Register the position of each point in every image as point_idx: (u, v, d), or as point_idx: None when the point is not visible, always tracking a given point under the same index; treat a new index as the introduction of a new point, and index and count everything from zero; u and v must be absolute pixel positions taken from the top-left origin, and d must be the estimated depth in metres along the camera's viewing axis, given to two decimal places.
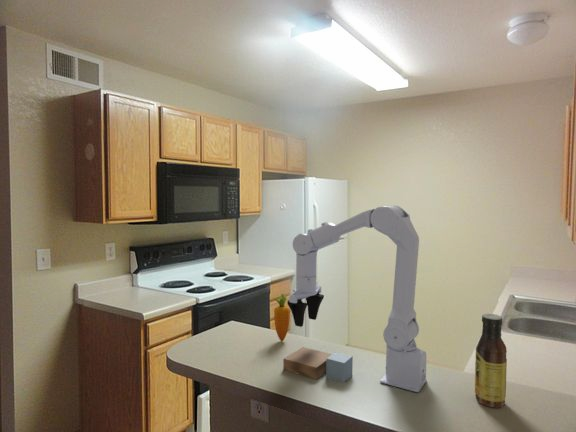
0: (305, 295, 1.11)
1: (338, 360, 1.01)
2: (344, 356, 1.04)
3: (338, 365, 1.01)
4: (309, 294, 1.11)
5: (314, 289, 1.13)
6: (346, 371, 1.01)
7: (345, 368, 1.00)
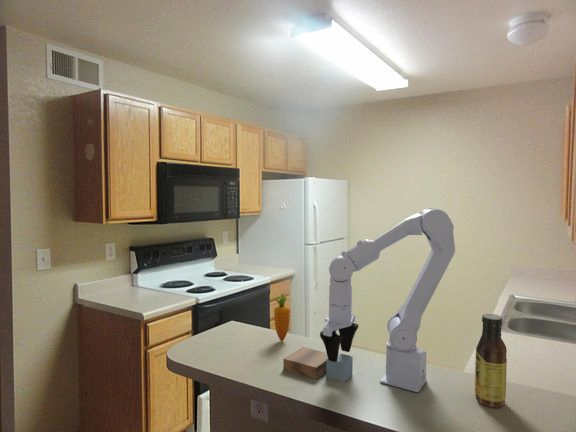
0: (340, 327, 0.99)
1: (338, 360, 1.01)
2: (344, 356, 1.04)
3: (338, 365, 1.01)
4: (344, 325, 0.99)
5: (349, 319, 1.01)
6: (346, 371, 1.01)
7: (345, 368, 1.00)
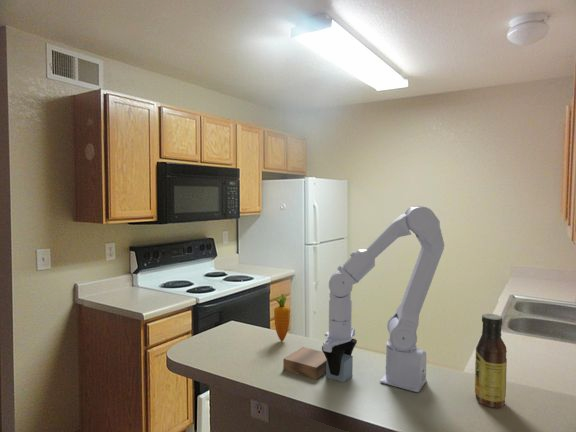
0: (340, 342, 0.99)
1: None
2: (344, 356, 1.04)
3: None
4: (344, 341, 1.00)
5: (349, 334, 1.01)
6: (346, 371, 1.01)
7: (345, 367, 1.00)
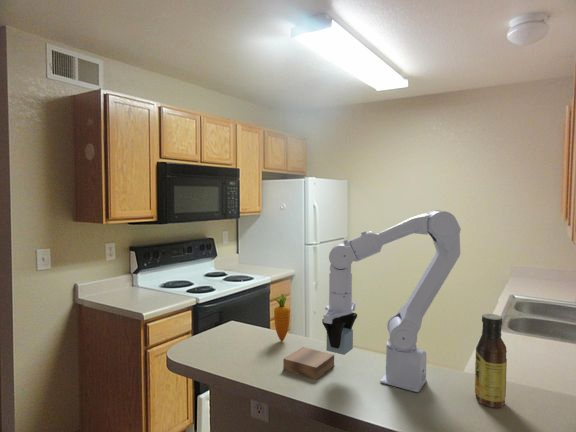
0: (340, 314, 0.98)
1: None
2: (344, 329, 1.03)
3: None
4: (345, 313, 0.99)
5: (350, 307, 1.01)
6: (346, 344, 1.00)
7: (345, 340, 1.00)
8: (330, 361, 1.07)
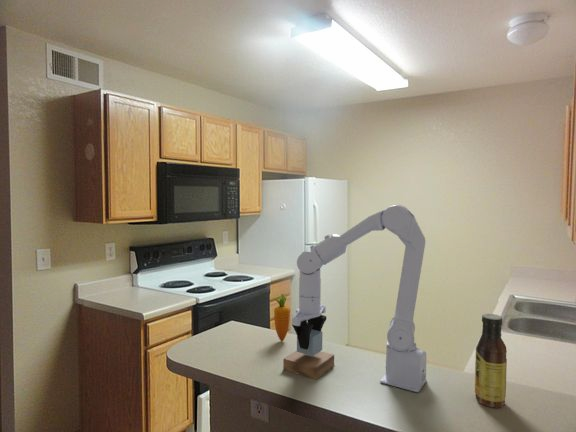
0: (309, 317, 1.03)
1: None
2: (314, 331, 1.08)
3: None
4: (313, 316, 1.04)
5: (318, 310, 1.06)
6: (315, 345, 1.05)
7: (314, 342, 1.05)
8: (330, 361, 1.07)
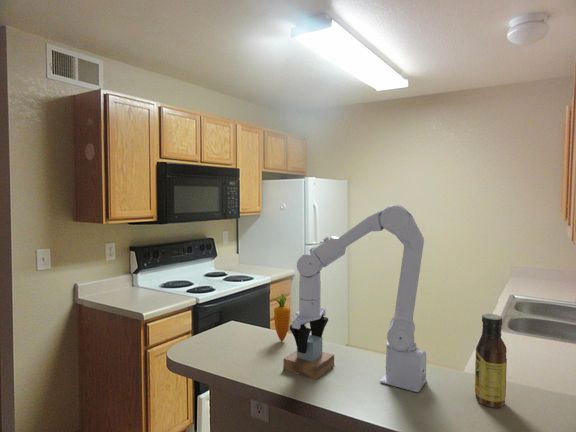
0: (309, 320, 1.03)
1: None
2: (314, 337, 1.08)
3: (307, 346, 1.05)
4: (313, 318, 1.04)
5: (318, 313, 1.06)
6: (315, 351, 1.05)
7: (314, 348, 1.05)
8: (330, 361, 1.07)
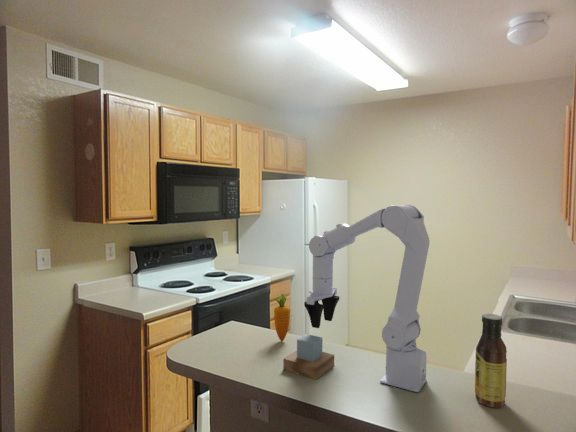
0: (322, 297, 1.11)
1: (307, 340, 1.06)
2: (314, 337, 1.08)
3: (307, 346, 1.05)
4: (326, 296, 1.12)
5: (331, 291, 1.14)
6: (315, 351, 1.05)
7: (314, 348, 1.05)
8: (330, 361, 1.07)
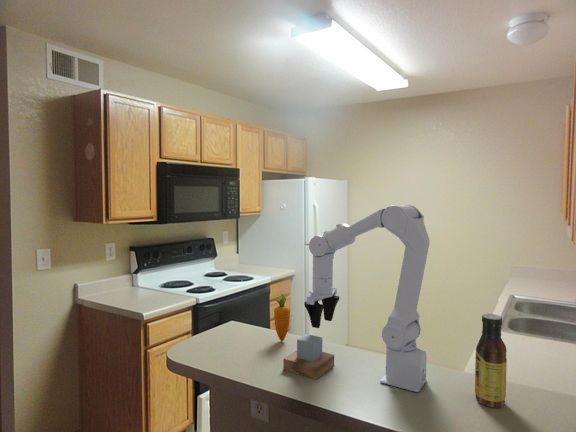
0: (322, 297, 1.11)
1: (307, 340, 1.06)
2: (314, 337, 1.08)
3: (307, 346, 1.05)
4: (326, 296, 1.12)
5: (331, 291, 1.14)
6: (315, 351, 1.05)
7: (314, 348, 1.05)
8: (330, 361, 1.07)
